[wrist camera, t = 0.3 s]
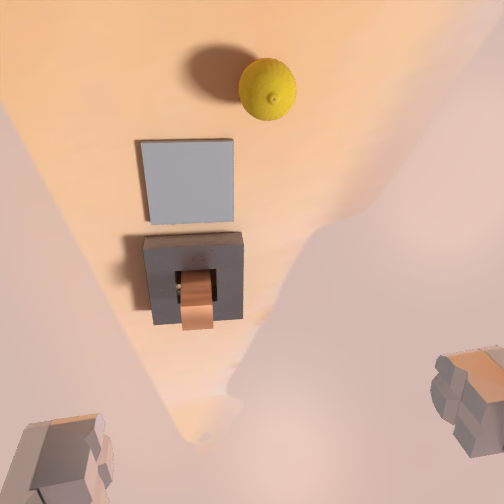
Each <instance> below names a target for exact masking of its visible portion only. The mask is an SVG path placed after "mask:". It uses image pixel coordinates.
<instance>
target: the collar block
mask: <svg viewBox="0 0 504 504" xmlns="http://www.w3.org/2000/svg"><path fill="white" fill-rule="evenodd" d="M143 254H144V261H145V268H146V275H147V282H148V289H149V296H150V303H151V310H152V317H153V323H154V325H163V324H177V323H182V318H181V308H180V305H181V290H178V284H177V273H176V271H186V270H204V269H216V287H213V288H211V292H212V306H213V321H219V320H234V319H243V268H244V243H243V238H242V234H241V232H231V233H209V234H187V235H165V236H145V240H144V245H143Z"/></svg>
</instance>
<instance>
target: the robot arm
mask: <svg viewBox="0 0 504 504" xmlns="http://www.w3.org/2000/svg"><path fill="white" fill-rule="evenodd" d="M435 368H436V369H437V371H438V372H439V373H438V374H437V376H436V377H435V378H434V379H433V380H432V383H431V390H430V391H431V396H432V401H433V403H434V406H435V408H436V410H437V412H438V413H439V414H440V416H441V418H442V419H444V420H446V421H447V422H449V423H451V424H452V425H453V426H454V427H453V435H454V436H455V437H456V439H457V440H458V442H459V443H460V444H461V446H462V447H463V448H464V450H465V451H466V453H467V454H468V456H469V457H470V458H474V457H480V456H486V455H491V454H497V453H503V452H504V348H502V347H500V346H498V345H496V346H490V347H484V348H478V349H472V350H466V351H461V352H456V353H450V354H444V355H440V356H439V357H438V359H437V360H436V365H435ZM104 430H105V421H104V419H103V416H102V414H100V413H97V414H91V415H84V416H77V417H71V418H63V419H56V420H51V421H45V422H38V423H31V424H29V425H28V426H27V427H26V428H25V430H24V431H23V434H22V436H21V439H20V442H19V444H18V447H17V450H16V453H15V455H14V458H13V461H12V463H11V466H10V469H9V471H8V474H7V477H6V479H5V482H4V485H3V487H2V490H1V493H0V504H109V498H108V495H107V492H106V489H107V487H108V486H109V485H110V483H111V482H112V478H113V470H114V469H113V468H114V459H113V458H114V457H113V448H112V443H111V440H110V437H108V436H107V435H105V434H104Z"/></svg>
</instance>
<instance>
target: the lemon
mask: <svg viewBox="0 0 504 504" xmlns="http://www.w3.org/2000/svg"><path fill="white" fill-rule="evenodd" d="M238 92H239V97H240V101H241V103H242V105H243V107H244V108H245V110H246V111H247V112H248V113H249V114H250V115H252V116H253V117H255V118H257V119H260V120H264V121H272V120H276V119H279V118H281V117H283V116H284V115H285V114H286V113H288V111H289V110H290V109H291V107H292V106H293V103H294V101H295V97H296V83H295V79H294V76H293V74H292V73H291V71H290V69H289V68H288V67H287V66H286V65H285V64H284V63H282V62H280V61H278V60H276V59H271V58H262V59H259V60H256V61H254V62H252V63H251V64H250V65H248V66H247V68H246V69H245V70H244V71H243V73H242V75H241V77H240V81H239V85H238Z"/></svg>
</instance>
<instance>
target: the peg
mask: <svg viewBox="0 0 504 504" xmlns="http://www.w3.org/2000/svg"><path fill="white" fill-rule="evenodd" d="M180 308H181V318H182V329H183V331H184V330H198V329H212V328H213V306H212V292H211V278H210V269H204V270H186V271H181V305H180Z"/></svg>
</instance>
